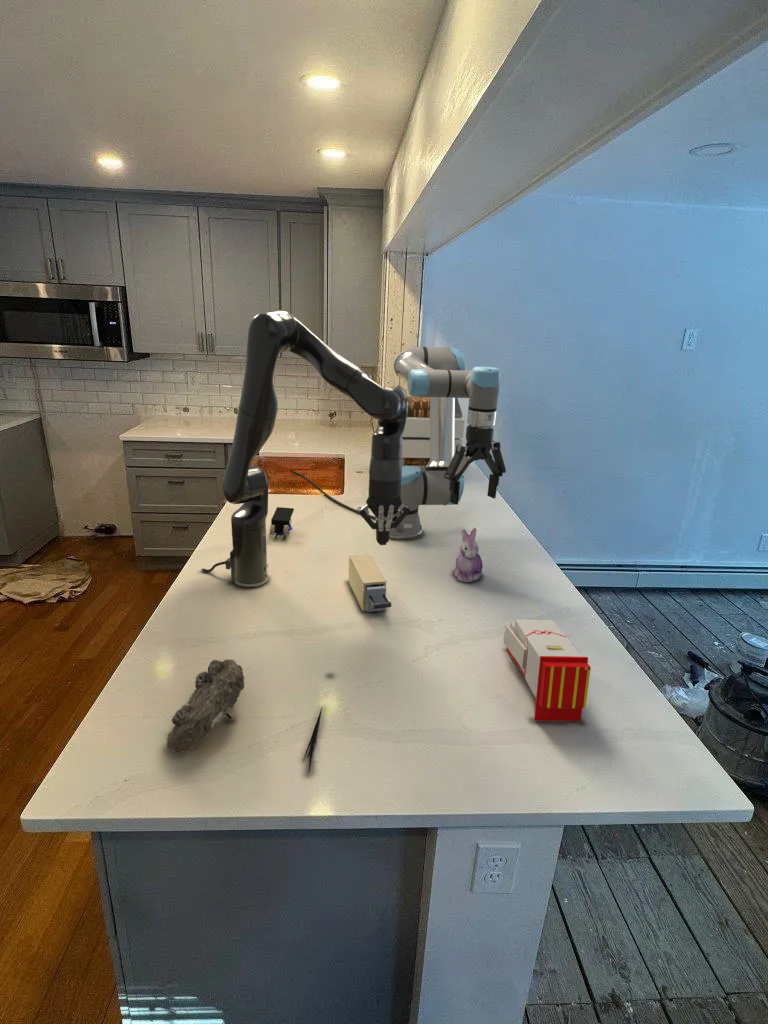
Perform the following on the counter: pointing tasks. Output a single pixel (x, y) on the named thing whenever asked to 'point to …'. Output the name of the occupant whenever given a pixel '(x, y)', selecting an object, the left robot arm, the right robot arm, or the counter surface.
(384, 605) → the drawer
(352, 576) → the cabinet
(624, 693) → the counter surface
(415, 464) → the grey slatted crate
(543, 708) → the toy
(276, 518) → the figurine character
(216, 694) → the fossil
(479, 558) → the figurine
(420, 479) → the right robot arm
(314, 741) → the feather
